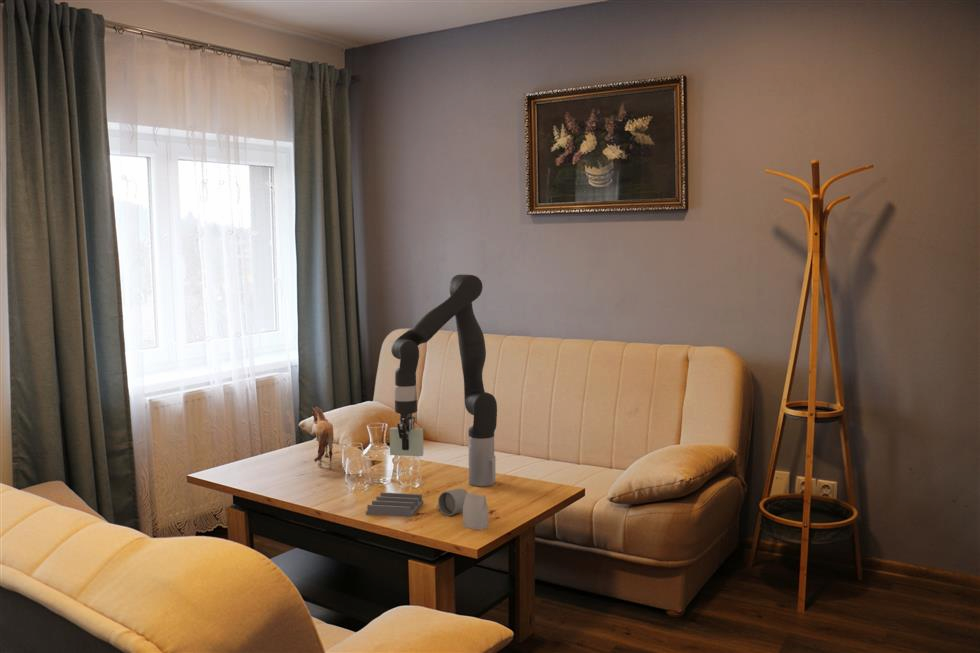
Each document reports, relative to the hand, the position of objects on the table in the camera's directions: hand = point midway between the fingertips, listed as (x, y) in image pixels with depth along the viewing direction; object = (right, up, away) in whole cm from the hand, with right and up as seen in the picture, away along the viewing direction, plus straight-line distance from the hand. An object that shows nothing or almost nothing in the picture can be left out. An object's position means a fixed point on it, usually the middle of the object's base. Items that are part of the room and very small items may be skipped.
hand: (406, 448), depth 280 cm
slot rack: (-2, -18, -12) cm, 22 cm away
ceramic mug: (+16, -18, -16) cm, 29 cm away
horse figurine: (-40, -13, +45) cm, 62 cm away
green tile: (0, -2, 0) cm, 2 cm away
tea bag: (+24, -19, -30) cm, 43 cm away
